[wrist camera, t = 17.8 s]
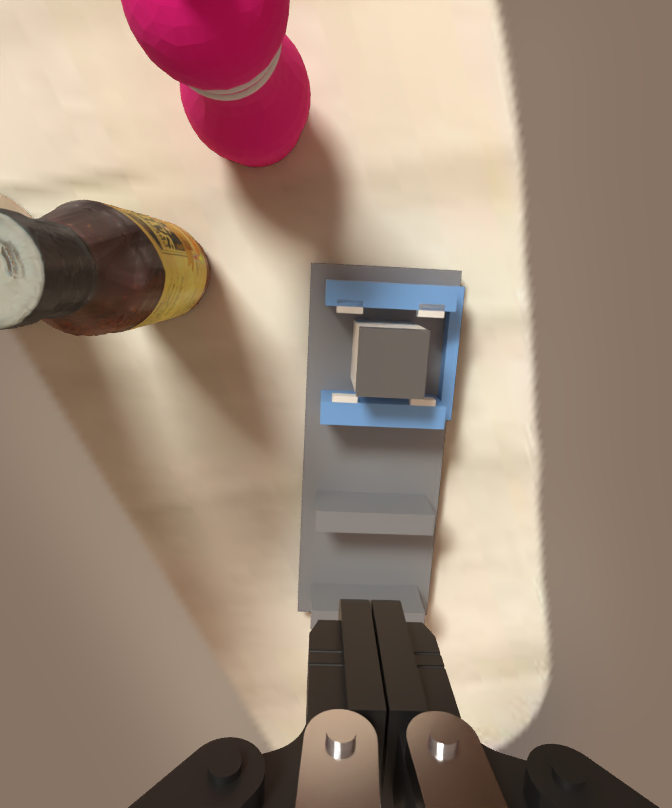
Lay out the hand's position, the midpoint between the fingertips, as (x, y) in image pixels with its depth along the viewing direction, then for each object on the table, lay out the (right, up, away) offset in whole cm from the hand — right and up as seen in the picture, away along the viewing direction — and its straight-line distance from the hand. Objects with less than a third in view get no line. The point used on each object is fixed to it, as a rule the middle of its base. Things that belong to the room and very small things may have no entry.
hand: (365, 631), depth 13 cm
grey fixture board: (+2, +2, +27) cm, 27 cm away
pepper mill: (-6, +24, +22) cm, 33 cm away
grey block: (+2, +9, +24) cm, 26 cm away
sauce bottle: (-12, +15, +24) cm, 31 cm away
